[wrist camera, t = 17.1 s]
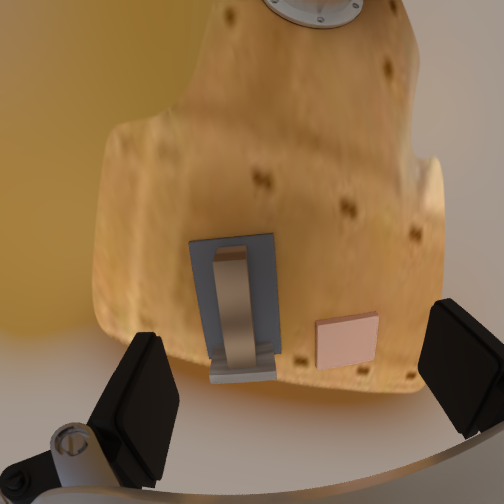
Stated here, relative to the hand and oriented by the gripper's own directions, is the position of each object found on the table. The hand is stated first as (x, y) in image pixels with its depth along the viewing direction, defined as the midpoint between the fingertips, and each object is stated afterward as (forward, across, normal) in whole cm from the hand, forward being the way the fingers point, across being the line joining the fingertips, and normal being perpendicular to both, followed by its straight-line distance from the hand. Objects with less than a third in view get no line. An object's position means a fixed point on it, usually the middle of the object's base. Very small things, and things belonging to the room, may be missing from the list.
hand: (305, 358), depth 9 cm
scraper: (+22, +4, +8) cm, 24 cm away
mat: (+23, +4, +9) cm, 25 cm away
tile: (+23, -9, +13) cm, 28 cm away
